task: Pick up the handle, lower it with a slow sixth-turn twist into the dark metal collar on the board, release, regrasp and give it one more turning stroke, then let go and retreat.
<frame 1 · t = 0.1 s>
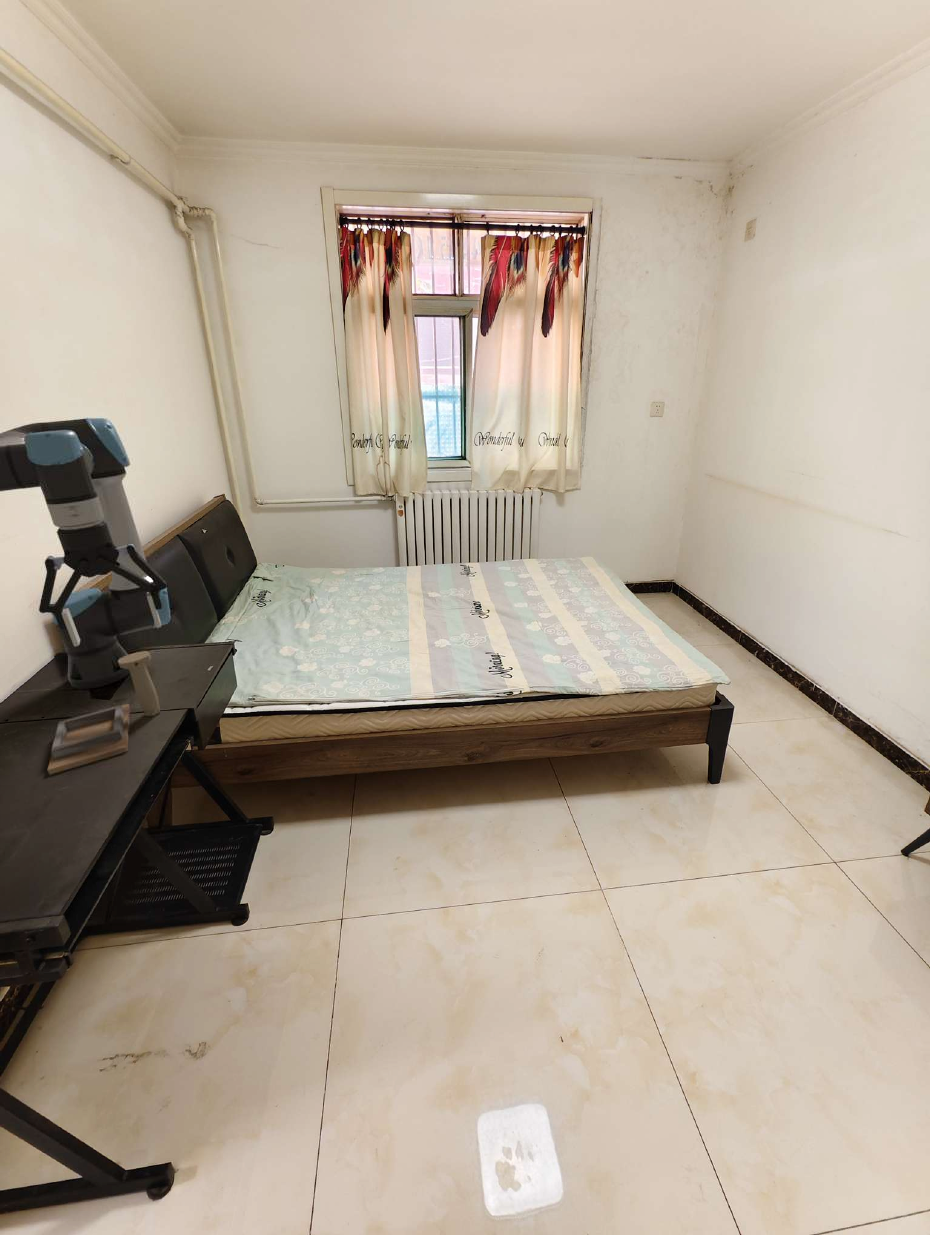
hand: (119, 634, 106), 28 cm above the table, fingers open, 13 cm apart
collar board: (93, 738, 124), on the table
handle: (153, 713, 132), on the table
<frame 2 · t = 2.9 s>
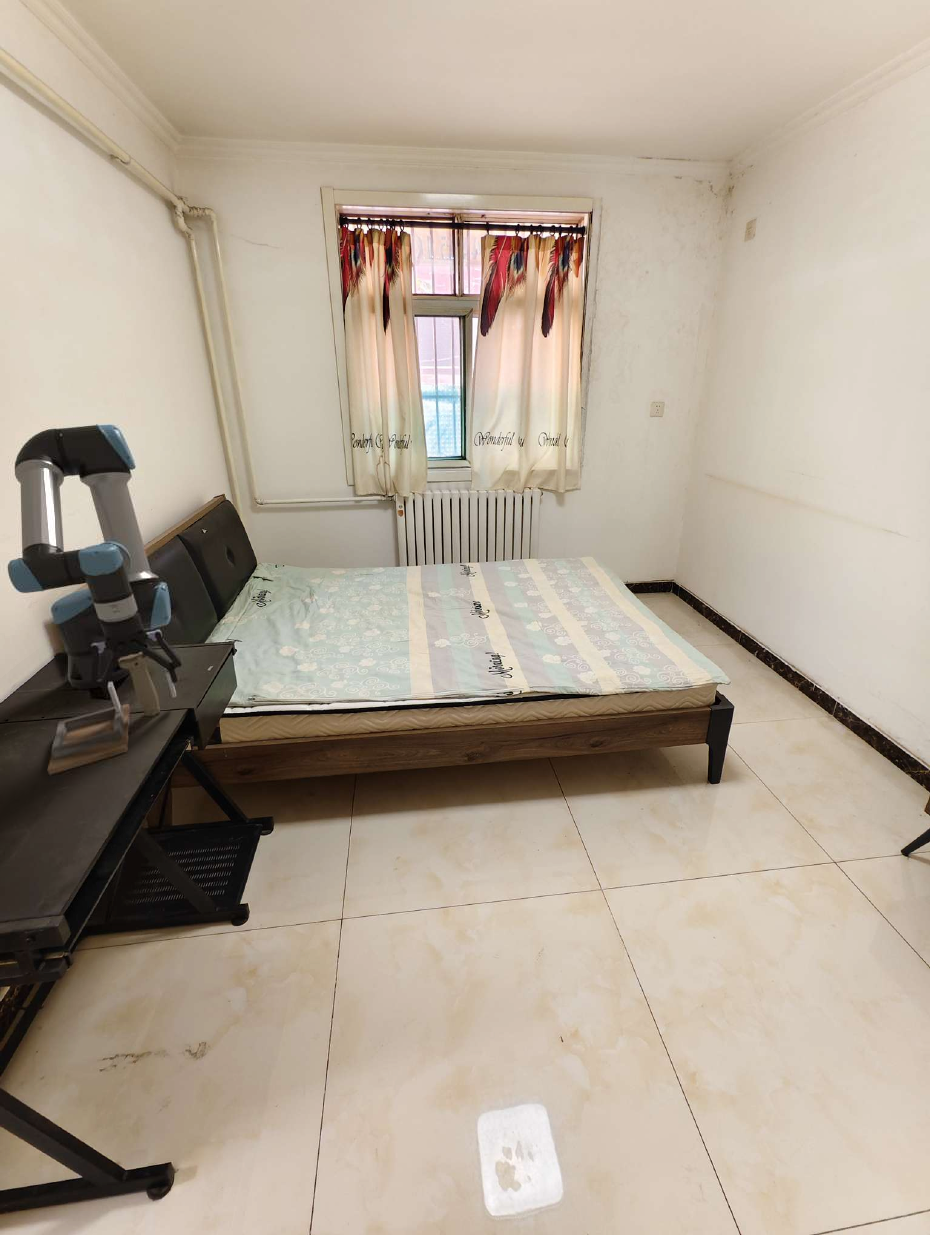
hand: (146, 701, 130), 3 cm above the table, fingers open, 11 cm apart
nothing on the table moved.
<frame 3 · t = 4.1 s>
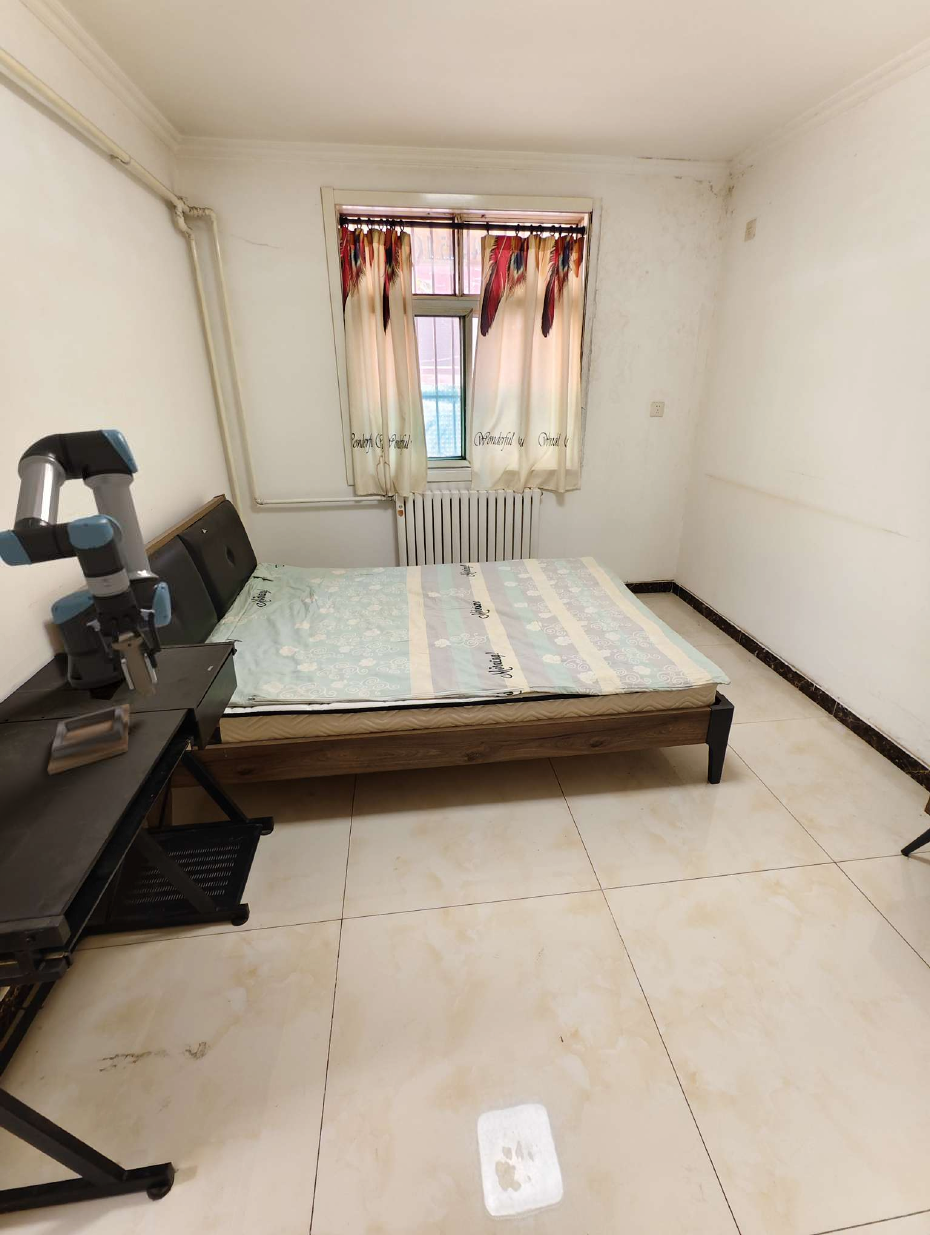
hand: (143, 683, 129), 8 cm above the table, fingers closed on handle, 4 cm apart
handle: (148, 695, 131), point 5 cm above the table, touching gripper
when the fingers open (5 cm above the table, at t = 8.2 s): handle stays where it is, resting on collar board.
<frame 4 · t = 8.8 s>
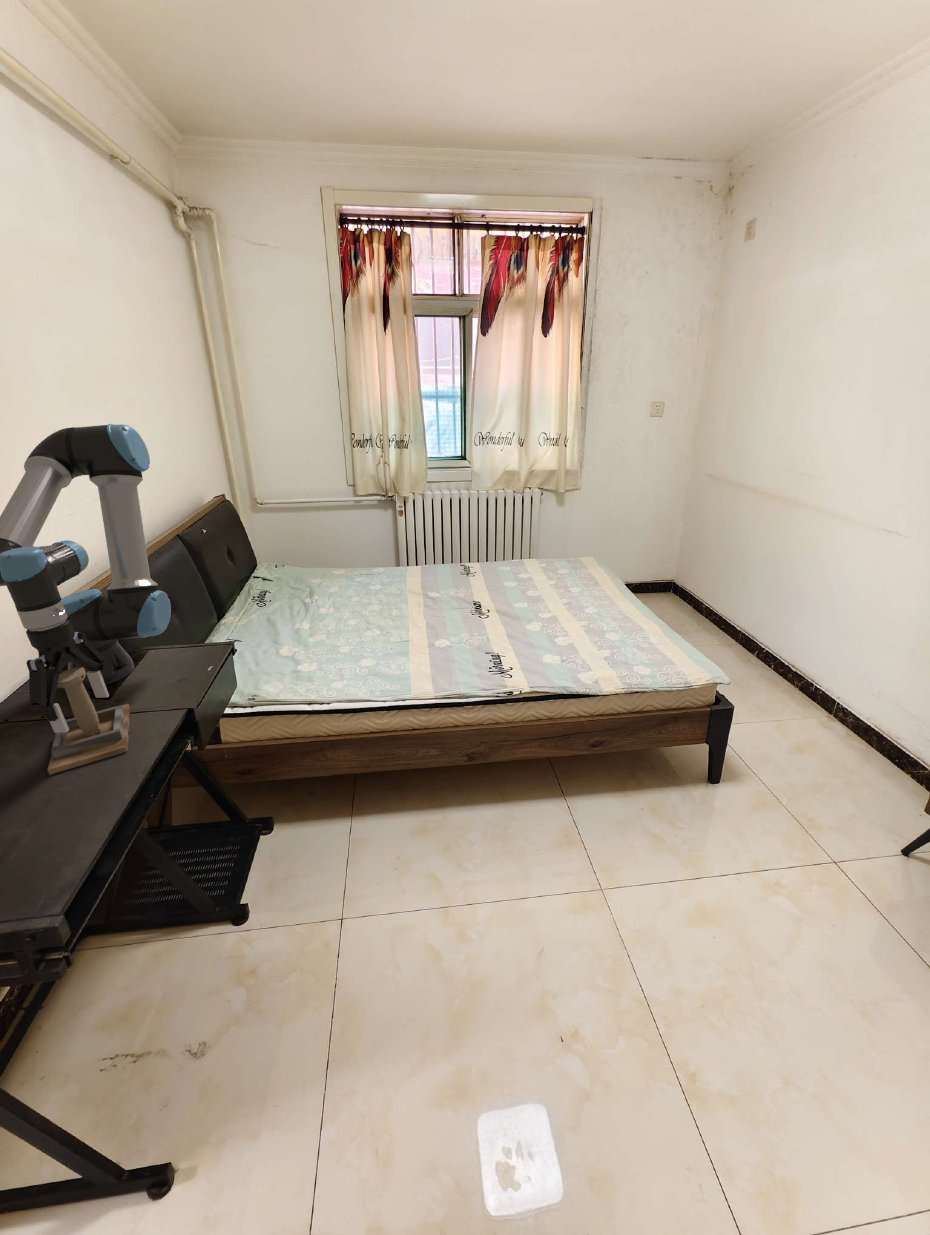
hand: (83, 713, 121), 7 cm above the table, fingers open, 13 cm apart
handle: (93, 734, 123), point 1 cm above the table, touching collar board
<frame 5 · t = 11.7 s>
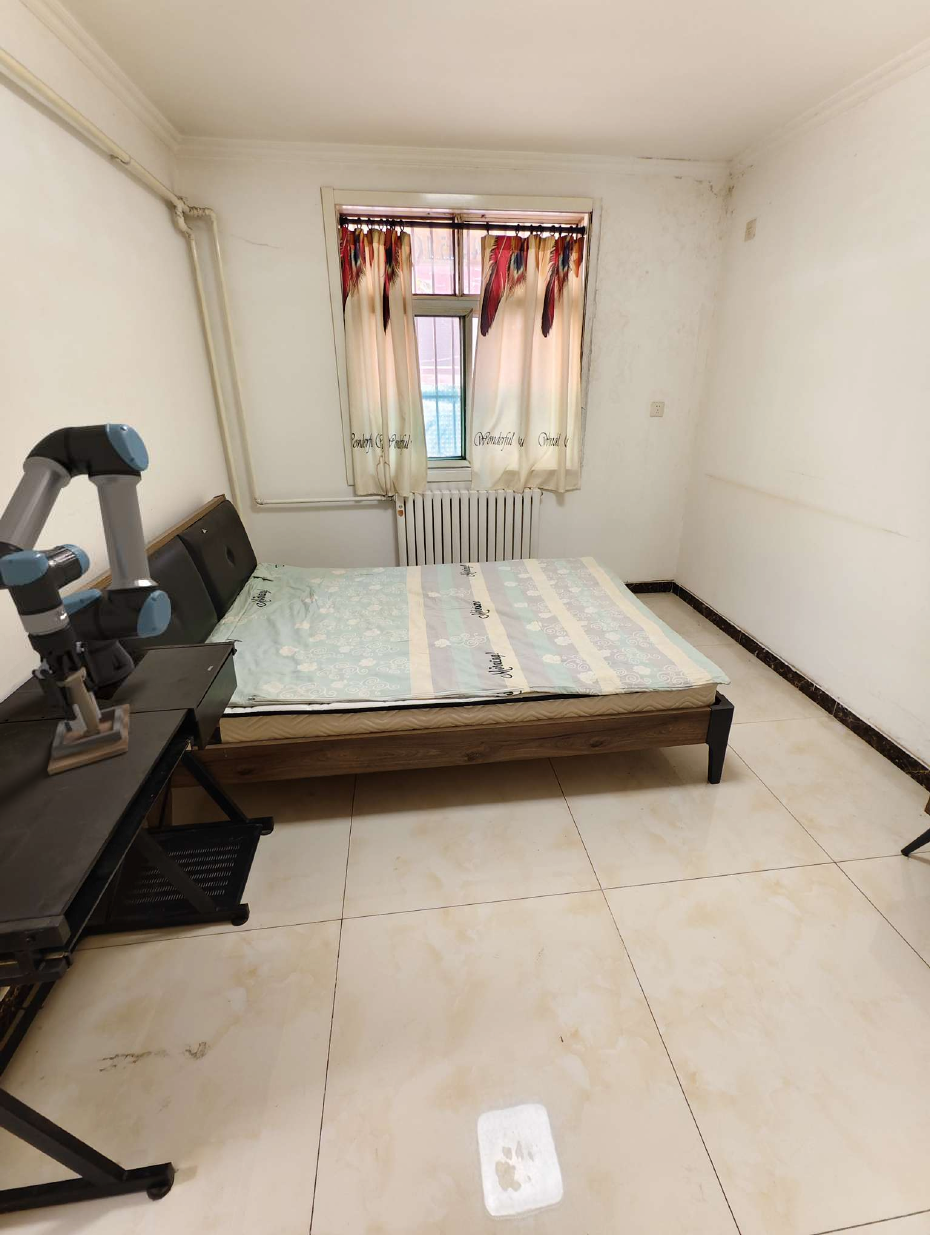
hand: (87, 723, 122), 4 cm above the table, fingers closed on handle, 4 cm apart
handle: (93, 734, 123), point 1 cm above the table, touching collar board, gripper
when the fingers open (4 cm above the table, at t = 13.1 s): handle stays where it is, resting on collar board.
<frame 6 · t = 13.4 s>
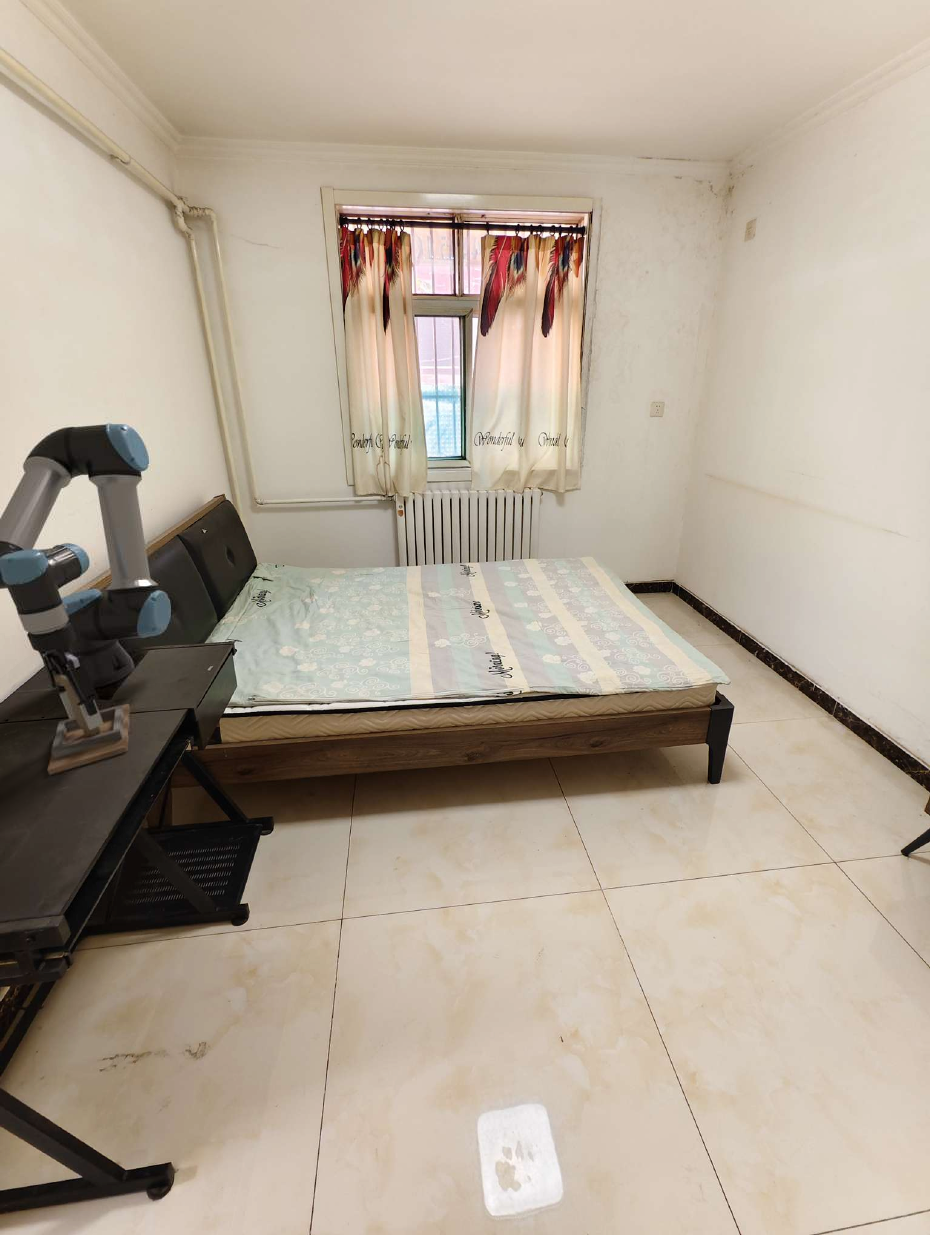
hand: (86, 721, 122), 5 cm above the table, fingers open, 8 cm apart
handle: (93, 733, 124), point 1 cm above the table, touching collar board
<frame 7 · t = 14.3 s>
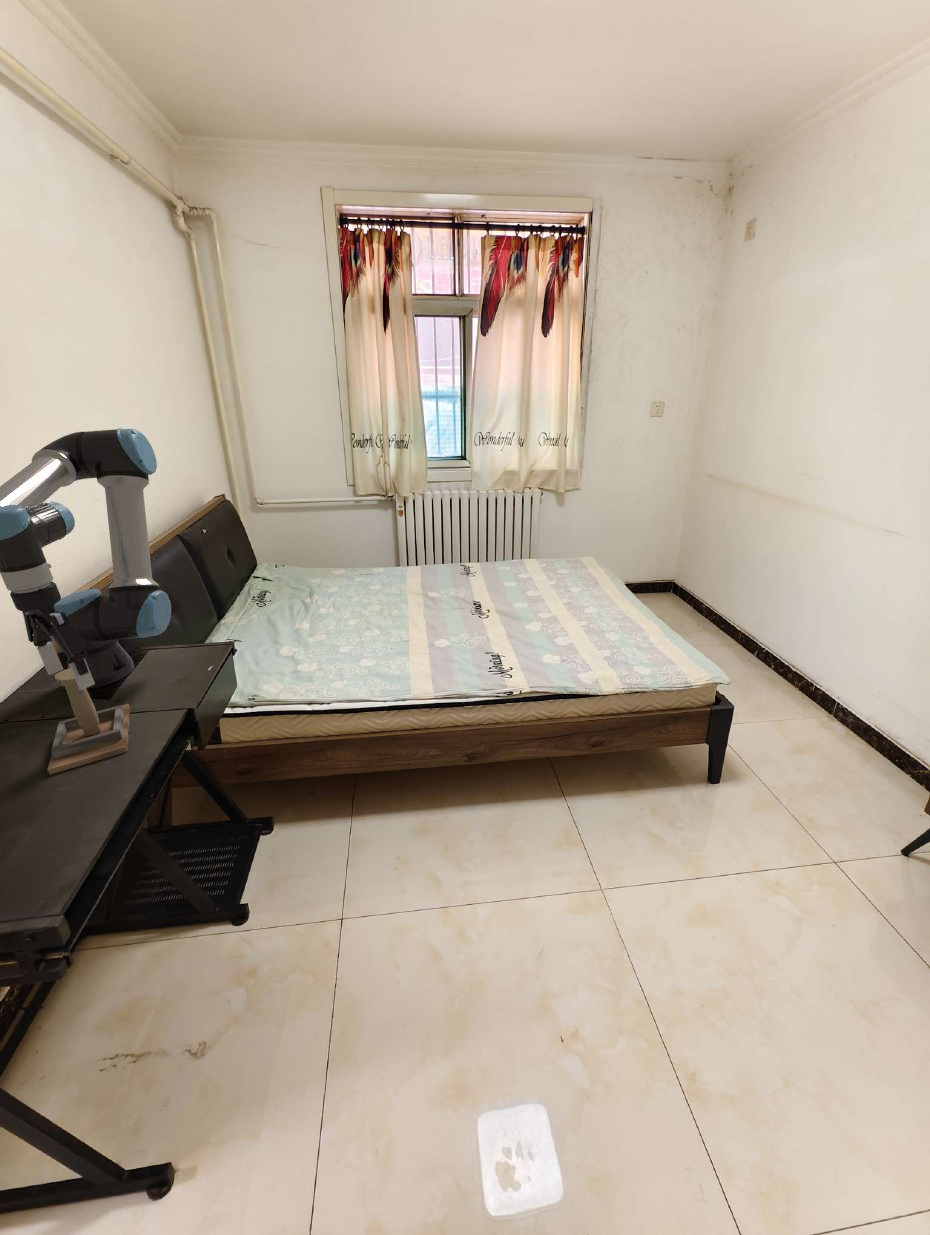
hand: (71, 679, 118), 15 cm above the table, fingers open, 13 cm apart
nothing on the table moved.
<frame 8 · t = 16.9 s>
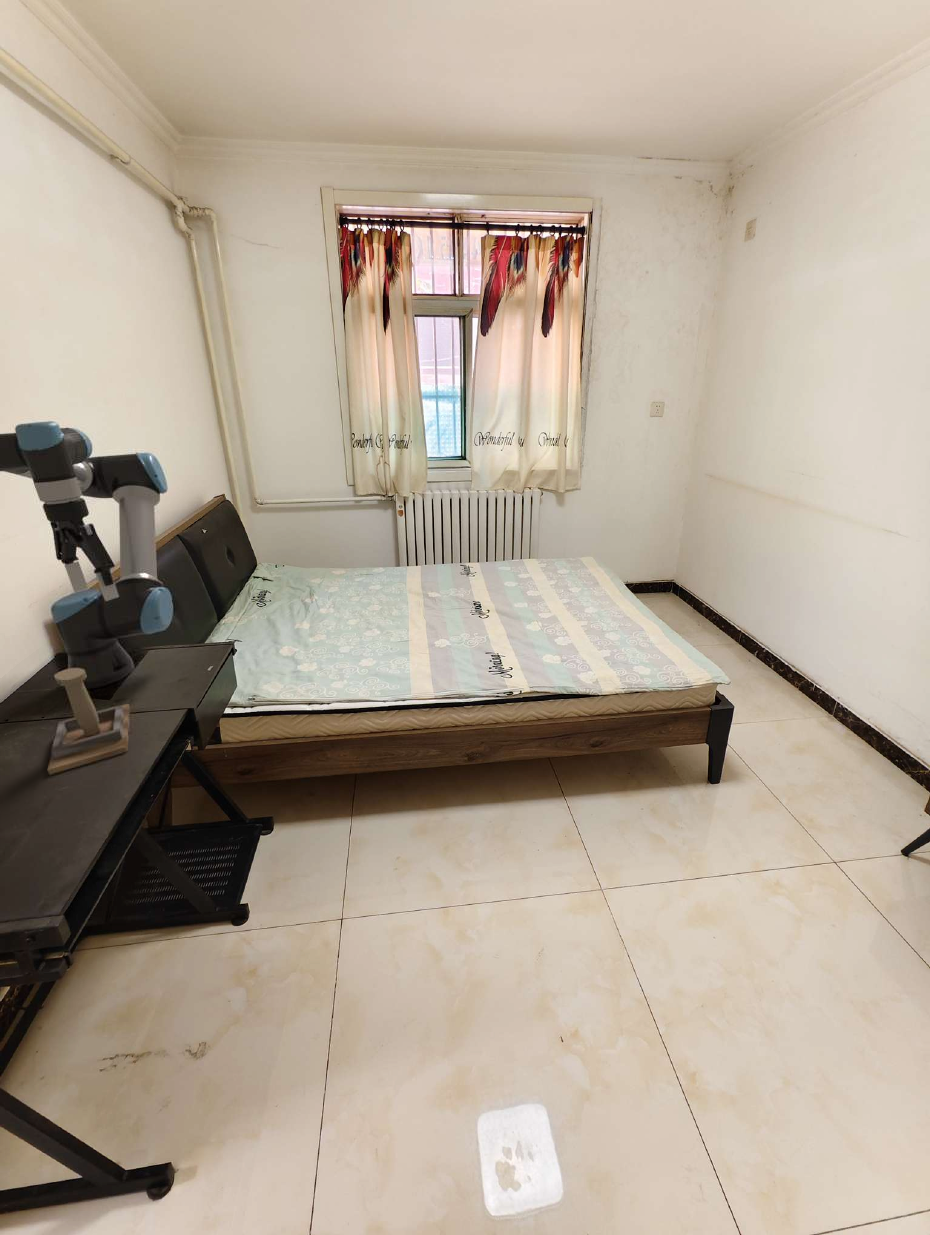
hand: (96, 594, 125), 29 cm above the table, fingers open, 13 cm apart
nothing on the table moved.
at the end: handle 0.4 cm off-centre on the collar board, point 1.0 cm above the collar board's base; handle tilted 0°; the gripper is holding nothing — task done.
